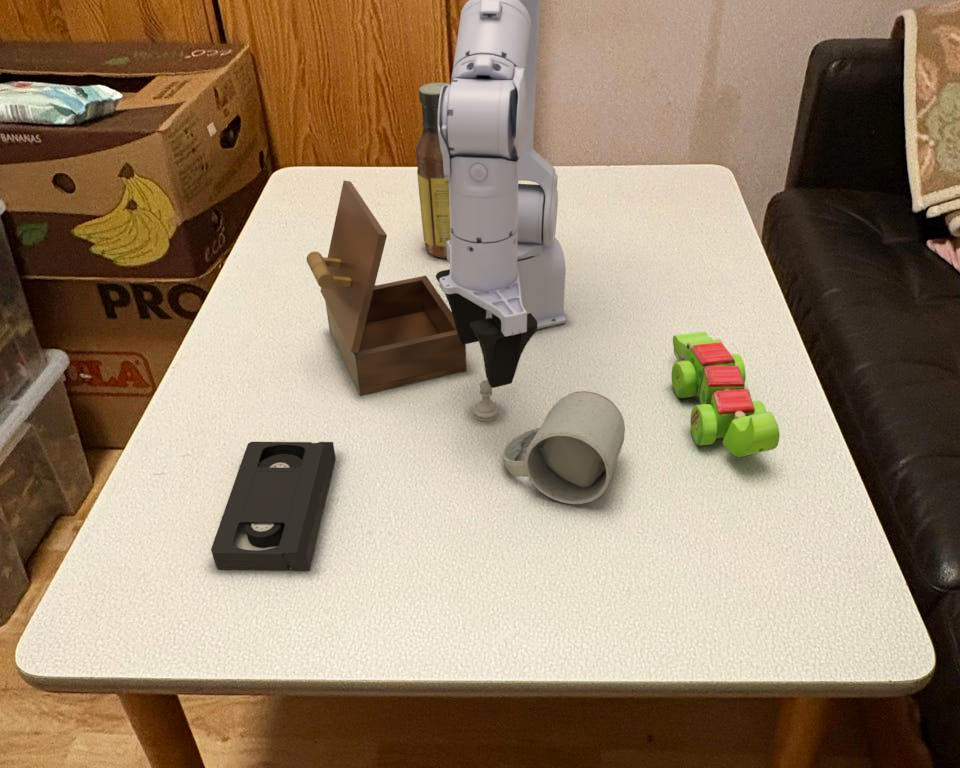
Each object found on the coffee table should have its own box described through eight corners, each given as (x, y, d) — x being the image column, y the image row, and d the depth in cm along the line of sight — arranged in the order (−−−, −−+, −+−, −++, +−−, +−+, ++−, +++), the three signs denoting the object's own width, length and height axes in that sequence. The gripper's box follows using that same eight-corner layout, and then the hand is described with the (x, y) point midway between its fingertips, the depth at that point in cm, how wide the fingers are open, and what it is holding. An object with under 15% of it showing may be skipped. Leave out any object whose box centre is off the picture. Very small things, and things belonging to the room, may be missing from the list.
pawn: (486, 425, 89) (486, 392, 86) (467, 414, 90) (466, 381, 88) (504, 413, 90) (504, 380, 88) (485, 403, 92) (485, 370, 89)
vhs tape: (252, 457, 86) (248, 441, 84) (335, 458, 85) (333, 441, 84) (214, 569, 75) (209, 552, 74) (309, 570, 75) (306, 553, 74)
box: (428, 312, 105) (426, 275, 101) (466, 371, 96) (465, 332, 93) (329, 333, 102) (324, 295, 98) (360, 395, 93) (355, 356, 90)
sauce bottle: (482, 244, 117) (479, 84, 103) (455, 265, 113) (449, 101, 100) (439, 232, 119) (432, 74, 106) (412, 252, 115) (400, 91, 102)
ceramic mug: (625, 455, 85) (632, 388, 80) (606, 513, 79) (612, 444, 74) (517, 435, 88) (516, 369, 83) (491, 490, 82) (489, 422, 77)
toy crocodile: (658, 358, 97) (665, 309, 93) (719, 355, 97) (729, 305, 93) (709, 481, 82) (720, 428, 78) (781, 476, 83) (796, 423, 79)
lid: (351, 181, 91) (310, 174, 90) (387, 235, 83) (343, 229, 81) (327, 292, 98) (289, 288, 96) (358, 353, 89) (317, 350, 88)
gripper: (412, 201, 81) (421, 331, 90) (469, 276, 71) (472, 414, 80) (486, 188, 83) (487, 317, 92) (552, 259, 73) (546, 396, 82)
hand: (485, 361), depth 86 cm, fingers open, 7 cm apart
